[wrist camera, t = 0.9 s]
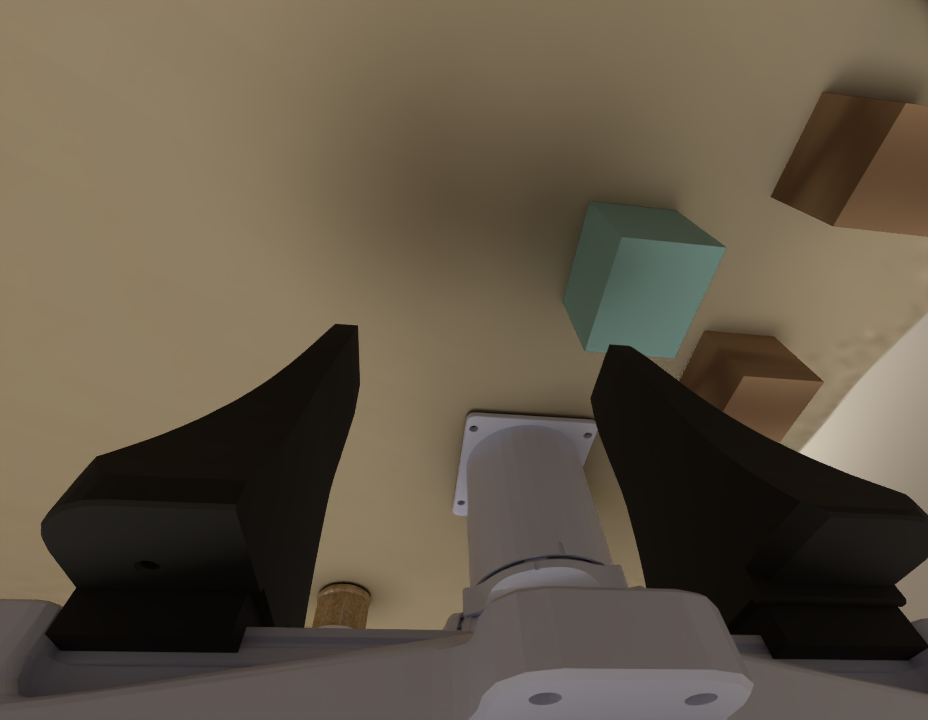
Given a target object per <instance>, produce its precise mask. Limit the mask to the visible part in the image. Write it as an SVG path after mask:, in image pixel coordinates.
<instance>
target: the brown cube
mask: <svg viewBox="0 0 928 720" xmlns="http://www.w3.org/2000/svg"><path fill="white" fill-rule="evenodd" d="M771 197H772V198H774V199H776V200H778V201H781V202H783V203H785V204H787V205H789V206H791V207H793V208H795V209H798V210H800V211H802V212H804V213H806V214H808V215H810V216H812V217H815V218H817V219H819V220H821V221H823V222H825V223H827V224H829V225H831V226H836V227H845V228H854V229H863V230H872V231H881V232H890V233H899V234H908V235H917V236H926V237H928V106H924V105H917V104H910V103H902V102H894V101H886V100H878V99H871V98H863V97H855V96H847V95H839V94H831V93H823V92H822V94H821V96H820V98H819V100H818V102H817V104H816V106H815V108H814V110H813V113H812V115H811V117H810V119H809V121H808V123H807V125H806V127H805V129H804V131H803V133H802V135H801V137H800V139H799V141H798V143H797V145H796V147H795V149H794V151H793V153H792V155H791V157H790V159H789V161H788V163H787V165H786V167H785V169H784V171H783V173H782V175H781V177H780V179H779V181H778V183H777V185H776V187H775V189H774V191H773V193H772V195H771Z"/></svg>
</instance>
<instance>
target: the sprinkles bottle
mask: <svg viewBox="0 0 928 720" xmlns="http://www.w3.org/2000/svg"><path fill="white" fill-rule="evenodd" d="M370 602H371V599H370V596H369V594H368V593H367V592H366V591H365V590H363V589H361V588H360V587H357V586H354V585H349V584H336V585H331V586H328V587H326V588H324V589H323V590H322V591H321V592H320V593H319V594H318V597H317V608H316V612H315V616H314V621H313V626H312V628H346V629H365V628H366V622H367V614H368V608H369V606H370Z"/></svg>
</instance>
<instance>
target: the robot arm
mask: <svg viewBox="0 0 928 720" xmlns="http://www.w3.org/2000/svg"><path fill="white" fill-rule="evenodd" d="M359 386H360V371H359V342H358V326H357V325H343V324H335V325H334V326H332V327H331V328H330V329H329V330H328V331H327V332H326V333H325V334H323V335H322V336H321V337H320V338H319V339H318V340H317V341H316V342H315V343H314V344H313V345H311V346H310V347H309V348H308V349H307V350H306V351H305V352H303V353H302V354H301V355H300V356H299V357H298V358H296V359H295V360H294V361H293V362H292V363H290V364H289V365H288V366H286V367H285V368H284V369H283V370H281V371H280V372H279V373H277V374H276V375H275V376H273V377H272V378H271V379H269V380H268V381H266V382H265V383H263V384H262V385H260V386H259V387H257V388H255V389H254V390H252V391H251V392H249V393H247V394H246V395H244V396H242V397H241V398H239V399H237V400H235V401H233V402H231V403H230V404H228V405H226V406H224V407H222V408H220V409H218V410H216V411H214V412H212V413H210V414H208V415H206V416H204V417H202V418H200V419H198V420H195V421H193V422H191V423H188V424H186V425H184V426H182V427H179V428H177V429H174V430H172V431H169V432H167V433H164V434H162V435H159V436H156V437H154V438H151V439H148V440H145V441H143V442H140V443H137V444H134V445H131V446H128V447H125V448H122V449H119V450H116V451H113V452H110V453H106V454H103V455H100V456H97V457H96V458H95V459H94V460H93V461H92V462H91V463H90V464H89V465H88V466H87V468H86V469H85V470H84V471H83V472H82V473H81V474H80V475H79V477H78V478H77V479H76V480H75V481H74V483H73V484H72V485H71V486H70V487H69V489H68V490H67V491H66V492H65V493H64V494H63V496H62V497H61V498H60V499H59V500H58V502H57V503H56V504H55V505H54V506H53V507H52V509H51V510H50V511H49V512H48V514H47V515H46V517H45V518H44V520H43V521H42V522H41V536H42V539H43V541H44V543H45V545H46V547H47V549H48V551H49V552H50V553H51V555H52V556H53V557H54V559H55V560H56V561H57V563H58V564H59V565H60V567H61V568H62V569H63V571H64V572H65V573H66V575H67V576H68V577H69V579H70V580H71V581H72V582H73V584H74V585H75V586H76V589H75V590H74V592H73V593H72V595H71V596H70V598H69V599H68V601H67V602H66V604H65V605H64V607H62V606H60V605H59V604H56V603H53V602H50V601H44V600H30V599H0V720H928V618H926V619H920V620H917V621H913V622H911V623H910V621H909V620H908V619H907V618H906V616H905V615H904V614H903V613H902V612H901V610H900V609H899V608H898V607H902V606H904V605H905V604H906V598H905V597H904V596H903V595H902V594H901V592H900V591H899V590H898V589H897V587H896V586H895V584H896V583H897V582H899V581H900V580H901V579H902V578H904V577H905V576H906V575H907V574H908V573H910V572H911V571H912V570H914V569H915V568H916V567H917V566H919V565H920V564H921V563H922V562H924V561H925V560H926V559H927V558H928V515H927V514H926V513H925V512H924V511H923V510H922V509H921V508H920V507H919V506H918V505H917V504H916V503H915V502H914V501H913V500H912V499H911V498H910V497H908V496H907V495H906V494H903V493H900V492H898V491H895V490H892V489H889V488H886V487H884V486H881V485H878V484H875V483H872V482H870V481H867V480H864V479H861V478H858V477H855V476H853V475H850V474H848V473H845V472H843V471H840V470H838V469H835V468H833V467H831V466H828V465H825V464H823V463H821V462H818V461H816V460H814V459H811V458H809V457H807V456H805V455H802V454H800V453H798V452H796V451H794V450H792V449H790V448H788V447H786V446H784V445H782V444H780V443H778V442H776V441H774V440H772V439H770V438H768V437H766V436H764V435H762V434H760V433H758V432H756V431H754V430H753V429H751V428H749V427H747V426H746V425H744V424H742V423H741V422H739V421H737V420H735V419H734V418H732V417H730V416H729V415H727V414H725V413H724V412H722V411H721V410H719V409H718V408H716V407H715V406H713V405H712V404H710V403H709V402H707V401H706V400H704V399H703V398H701V397H700V396H698V395H697V394H696V393H694V392H693V391H691V390H690V389H688V388H687V387H686V386H684V385H683V384H682V383H680V382H679V381H678V380H676V379H675V378H674V377H672V376H671V375H670V374H668V373H667V372H666V371H664V370H663V369H662V368H660V367H659V366H658V365H657V364H655V363H654V362H653V361H651V360H650V359H649V358H647V357H646V356H644V355H643V354H642V353H640V352H639V351H637V350H636V349H634V348H633V347H631V346H626V345H612V344H609V347H608V350H607V353H606V356H605V358H604V361H603V364H602V367H601V370H600V373H599V375H598V378H597V381H596V384H595V387H594V390H593V393H592V395H591V398H590V399H591V404H592V408H593V413H594V418H595V421H594V420H589V419H573V418H557V417H541V416H525V415H508V414H492V413H476V412H475V413H470V414H469V415H468V416H467V417H466V423H465V429H464V436H463V442H462V449H461V455H460V462H459V468H458V475H457V481H456V488H455V494H454V501H453V513H454V514H455V515H457V516H467V528H468V552H469V576H470V587H469V588H464V589H463V612H462V613H454V614H452V615H451V616H450V617H449V618H448V620H447V622H446V625H445V627H444V628H443V630H407V629H346V628H304V625H305V619H306V613H307V607H308V601H309V595H310V590H311V584H312V579H313V573H314V568H315V562H316V557H317V552H318V547H319V542H320V537H321V532H322V527H323V522H324V517H325V512H326V507H327V503H328V498H329V493H330V490H331V486H332V482H333V479H334V476H335V473H336V469H337V466H338V463H339V460H340V457H341V454H342V451H343V448H344V445H345V442H346V439H347V436H348V433H349V430H350V426H351V423H352V420H353V417H354V414H355V409H356V403H357V398H358V392H359ZM471 426H476V427H471ZM597 430H598V432H599V435H600V437H601V440H602V443H603V445H604V448H605V450H606V453H607V455H608V458H609V461H610V463H611V466H612V468H613V471H614V473H615V476H616V478H617V481H618V483H619V486H620V488H621V491H622V494H623V497H624V500H625V503H626V506H627V509H628V513H629V517H630V520H631V524H632V528H633V532H634V535H635V539H636V544H637V548H638V552H639V556H640V560H641V565H642V569H643V574H644V579H645V584H646V588H644V587H643V586H636V587H630V588H628V585H627V582H626V579H625V576H624V573H623V570H622V567H621V565H614V564H613V561H612V558H611V555H610V552H609V549H608V545H607V542H606V539H605V536H604V533H603V530H602V527H601V524H600V520H599V517H598V514H597V511H596V508H595V505H594V502H593V499H592V495H591V492H590V489H589V486H588V483H587V480H586V477H585V473H584V470H583V466H584V464H585V461H586V459H587V456H588V453H589V451H590V448H591V446H592V443H593V441H594V438H595V436H596V433H597ZM588 432H589V433H588ZM585 433H588V434H585Z"/></svg>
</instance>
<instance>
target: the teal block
mask: <svg viewBox="0 0 928 720" xmlns="http://www.w3.org/2000/svg"><path fill="white" fill-rule="evenodd" d="M726 248H727V247H725V246H724V245H722V244H721V243H720V242H718V241H717V240H716V239H714V238H713V237H712V236H710V235H709V234H707V233H706V232H705V231H703V230H702V229H701V228H699V227H698V226H697V225H695V224H694V223H693V222H691V221H690V220H688V219H687V218H686V217H684V216H683V215H682V214H680V213H679V212H678V211H676V210H667V209H658V208H648V207H639V206H630V205H620V204H611V203H602V202H593V201H590V202H589V206H588V209H587V213H586V217H585V220H584V224H583V228H582V232H581V235H580V239H579V243H578V247H577V250H576V254H575V258H574V261H573V265H572V269H571V273H570V276H569V280H568V284H567V288H566V291H565V295H564V299H563V304H564V306H565V308H566V311H567V313H568V315H569V317H570V320H571V322H572V324H573V326H574V329H575V331H576V333H577V335H578V337H579V340H580V342H581V344H582V346H583V349H584V351H585V352H598V353H607V350H608V347H609V344H612V345H626V346H631V347H633V348H634V349H636V350H637V351H639V352H640V353H642V354H643V355H644V356H650V357H664V358H675V356H676V354H677V352H678V350H679V348H680V346H681V344H682V341H683V339H684V337H685V335H686V333H687V331H688V329H689V327H690V324H691V322H692V320H693V318H694V316H695V314H696V312H697V310H698V307H699V305H700V303H701V301H702V299H703V297H704V295H705V293H706V290H707V288H708V286H709V284H710V282H711V280H712V278H713V276H714V273H715V271H716V269H717V267H718V265H719V263H720V261H721V259H722V256H723V254H724V252H725V250H726Z"/></svg>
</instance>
